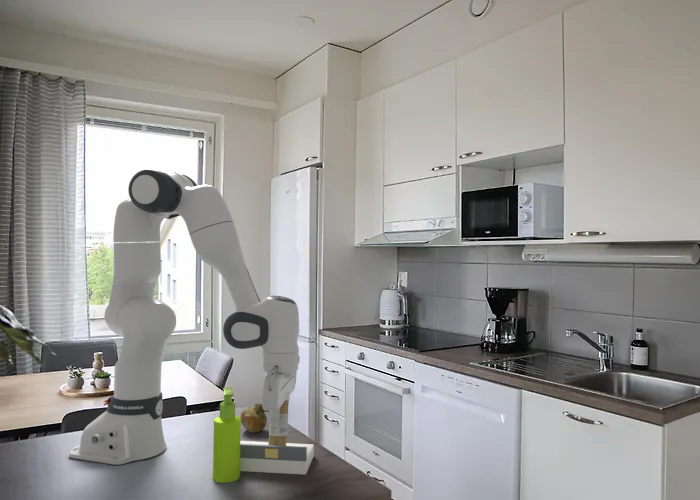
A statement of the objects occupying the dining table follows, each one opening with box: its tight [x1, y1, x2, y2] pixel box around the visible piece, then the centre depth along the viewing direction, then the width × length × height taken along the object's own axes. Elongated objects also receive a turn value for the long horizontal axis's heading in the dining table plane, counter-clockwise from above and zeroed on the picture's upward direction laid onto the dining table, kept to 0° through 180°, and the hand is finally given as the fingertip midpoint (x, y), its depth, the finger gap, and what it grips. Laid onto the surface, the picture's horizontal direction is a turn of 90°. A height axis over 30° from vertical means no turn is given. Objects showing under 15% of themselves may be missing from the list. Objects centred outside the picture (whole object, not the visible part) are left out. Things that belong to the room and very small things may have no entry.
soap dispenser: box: [212, 387, 242, 484], centre depth 118 cm, size 6×7×20 cm
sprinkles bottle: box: [268, 392, 291, 446], centre depth 128 cm, size 5×5×13 cm
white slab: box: [240, 440, 315, 475], centre depth 127 cm, size 20×11×6 cm, turn 84°
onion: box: [239, 403, 270, 434], centre depth 150 cm, size 8×8×8 cm
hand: (279, 418), depth 129 cm, fingers open, 5 cm apart
